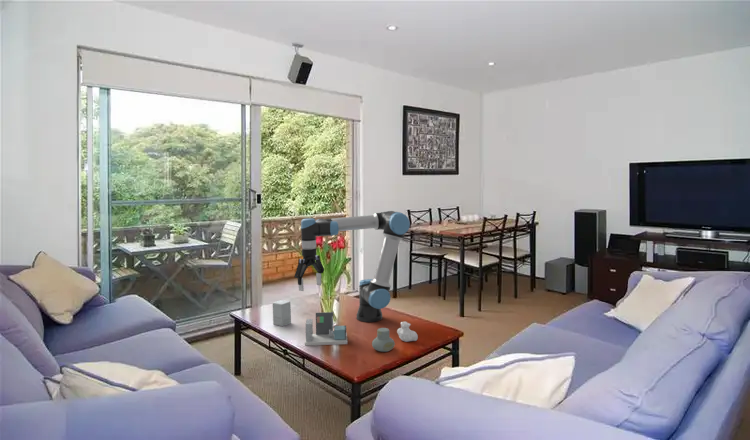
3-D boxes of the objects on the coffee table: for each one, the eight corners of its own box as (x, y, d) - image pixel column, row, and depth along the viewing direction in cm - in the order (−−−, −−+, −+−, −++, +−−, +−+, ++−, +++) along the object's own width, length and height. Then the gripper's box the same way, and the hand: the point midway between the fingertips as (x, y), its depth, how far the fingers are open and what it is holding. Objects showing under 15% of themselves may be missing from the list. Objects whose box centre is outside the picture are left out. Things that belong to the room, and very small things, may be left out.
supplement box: (291, 323, 261) (291, 301, 259) (282, 326, 254) (281, 304, 253) (281, 320, 265) (281, 299, 263) (272, 324, 258) (272, 302, 257)
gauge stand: (346, 335, 240) (346, 311, 238) (347, 344, 228) (347, 318, 227) (306, 337, 238) (305, 312, 237) (304, 345, 226) (304, 319, 225)
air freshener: (386, 344, 227) (386, 325, 226) (397, 349, 220) (397, 329, 219) (369, 349, 220) (368, 329, 219) (379, 355, 214) (379, 334, 213)
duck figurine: (396, 342, 236) (388, 328, 230) (403, 330, 241) (395, 317, 234) (416, 347, 229) (408, 334, 223) (422, 335, 233) (415, 321, 227)
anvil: (312, 335, 235) (312, 318, 234) (312, 341, 227) (311, 323, 226) (306, 336, 235) (306, 319, 234) (305, 341, 227) (305, 324, 226)
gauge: (346, 333, 238) (345, 315, 237) (346, 339, 230) (346, 320, 229) (329, 334, 237) (329, 316, 236) (329, 339, 229) (328, 321, 228)
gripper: (319, 244, 252) (320, 282, 254) (286, 251, 232) (288, 292, 234) (330, 245, 248) (331, 283, 250) (297, 252, 227) (298, 294, 230)
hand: (310, 287), depth 242 cm, fingers open, 13 cm apart
